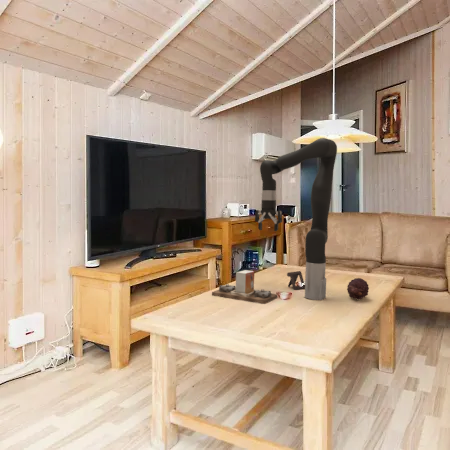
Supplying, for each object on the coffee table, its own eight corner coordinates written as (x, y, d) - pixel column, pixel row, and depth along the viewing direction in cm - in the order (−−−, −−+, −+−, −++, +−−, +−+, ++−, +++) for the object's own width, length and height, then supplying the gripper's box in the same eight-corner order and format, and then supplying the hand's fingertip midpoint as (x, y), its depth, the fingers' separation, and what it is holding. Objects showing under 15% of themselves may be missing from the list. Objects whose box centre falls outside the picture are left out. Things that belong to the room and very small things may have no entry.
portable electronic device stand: (295, 290, 219) (296, 274, 218) (284, 287, 225) (285, 271, 225) (307, 288, 224) (307, 272, 223) (296, 285, 230) (297, 270, 230)
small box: (244, 295, 199) (245, 273, 198) (235, 293, 202) (235, 272, 202) (254, 292, 205) (254, 271, 205) (244, 290, 209) (245, 269, 208)
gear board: (277, 297, 203) (277, 288, 203) (264, 303, 191) (265, 294, 191) (226, 289, 217) (226, 281, 217) (211, 295, 205) (212, 286, 205)
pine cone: (347, 293, 214) (348, 274, 213) (368, 295, 211) (369, 275, 210) (345, 301, 197) (346, 280, 197) (368, 304, 194) (369, 282, 193)
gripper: (284, 199, 219) (283, 231, 221) (259, 198, 227) (258, 229, 228) (278, 199, 213) (277, 232, 214) (253, 199, 220) (252, 230, 221)
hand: (268, 230), depth 221 cm, fingers open, 8 cm apart
